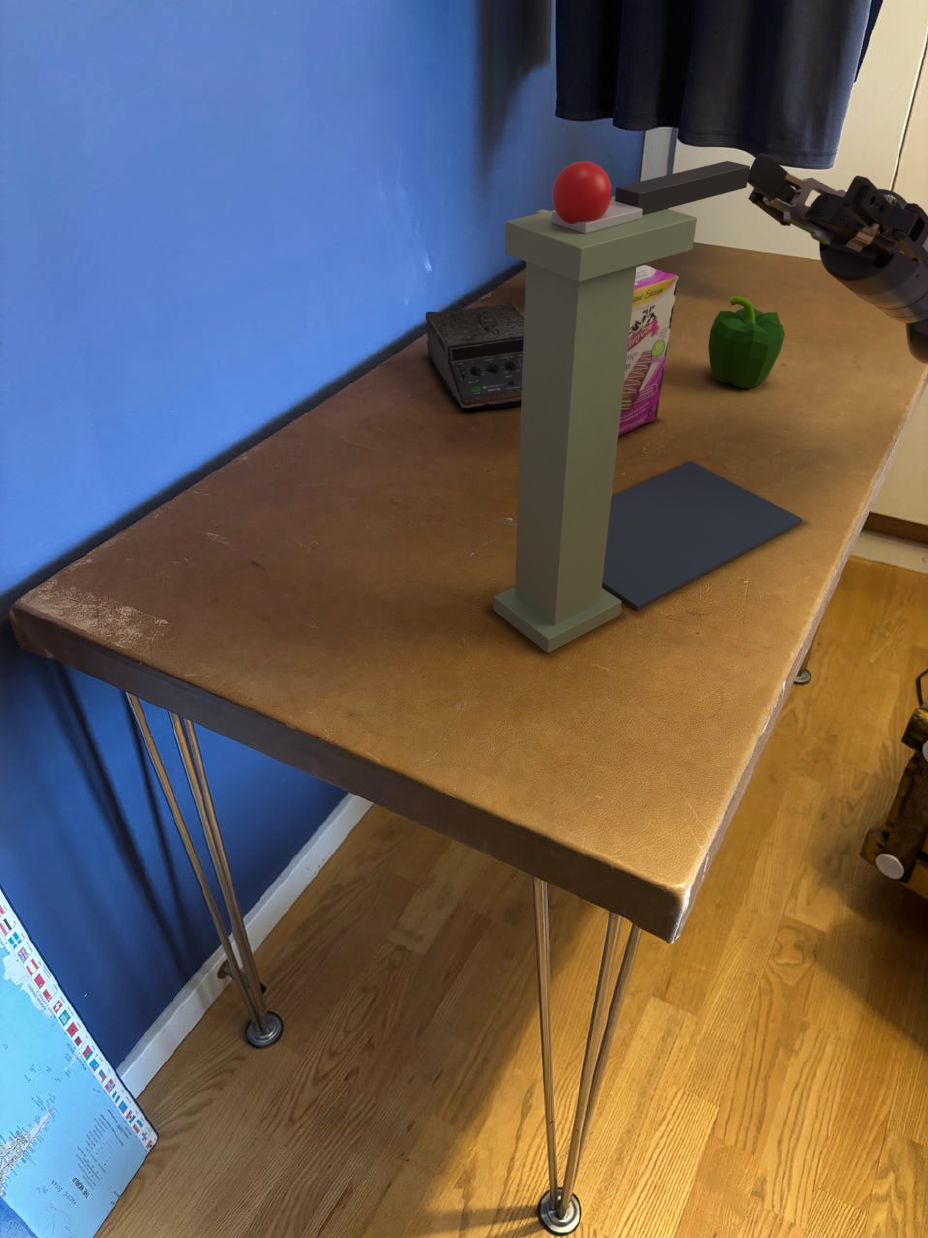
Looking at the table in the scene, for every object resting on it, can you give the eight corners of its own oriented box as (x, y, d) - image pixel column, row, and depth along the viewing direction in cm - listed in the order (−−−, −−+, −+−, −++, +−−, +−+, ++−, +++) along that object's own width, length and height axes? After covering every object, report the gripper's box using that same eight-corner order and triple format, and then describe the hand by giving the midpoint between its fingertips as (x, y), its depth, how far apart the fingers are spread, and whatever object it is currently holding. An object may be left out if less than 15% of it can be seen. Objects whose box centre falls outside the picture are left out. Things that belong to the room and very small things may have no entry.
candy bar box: (591, 452, 97) (605, 299, 87) (558, 435, 100) (568, 285, 90) (660, 420, 103) (681, 273, 93) (627, 405, 106) (643, 261, 96)
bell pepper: (785, 377, 112) (803, 296, 105) (755, 400, 107) (773, 316, 101) (722, 360, 116) (737, 280, 110) (691, 381, 111) (704, 300, 105)
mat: (690, 465, 95) (690, 460, 95) (801, 523, 86) (802, 518, 86) (529, 536, 85) (529, 532, 85) (637, 610, 76) (637, 606, 76)
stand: (584, 565, 81) (619, 194, 62) (641, 604, 77) (697, 217, 57) (492, 610, 76) (498, 222, 57) (547, 653, 72) (574, 249, 53)
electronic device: (461, 416, 105) (460, 364, 101) (425, 356, 118) (423, 309, 114) (558, 402, 107) (560, 351, 103) (512, 345, 120) (513, 298, 116)
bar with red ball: (714, 179, 65) (723, 122, 62) (756, 189, 62) (766, 131, 60) (538, 224, 57) (541, 160, 54) (578, 237, 54) (583, 172, 52)
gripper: (934, 318, 75) (858, 252, 64) (792, 273, 84) (703, 207, 73) (986, 228, 73) (917, 141, 61) (834, 191, 82) (749, 109, 70)
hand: (801, 177), depth 67 cm, fingers open, 8 cm apart
